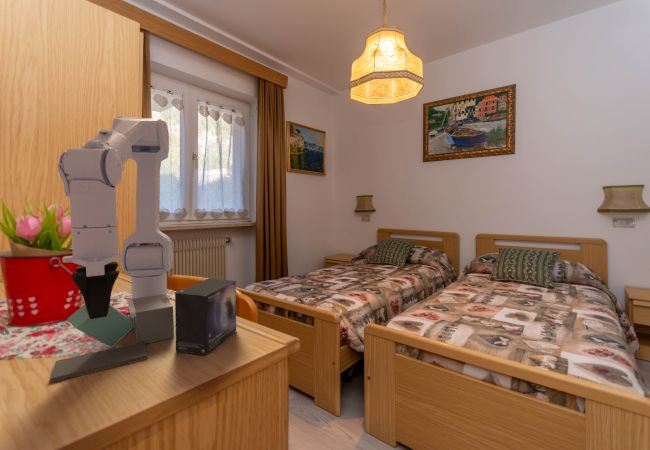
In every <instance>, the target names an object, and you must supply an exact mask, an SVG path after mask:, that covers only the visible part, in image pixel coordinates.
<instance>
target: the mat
mask: <svg viewBox="0 0 650 450" xmlns="http://www.w3.org/2000/svg"><path fill="white" fill-rule="evenodd" d="M146 359H148V353H147V349H146V344H144V341H143V342H139V343H137V342H135V343H130V344H125V345H120V346H117V347H111V348H109V349H108V348H107V349H103V350H99V351H94V352H90V353H86V354H85V353H84V354H80V355H76V356H72V357H68V358H62V359H58V360H55V362H54V365H53V369H52V372H51V376H50V379H49V380H50V382H49V383H55V382H56V383H57V382H58V381H59V382H60V381H62V380H67V379H71V378H74V377H79V376H84V375H88V374H90V373H94V372H99V371H103V370H107V369H112V368H116V367H118V366H122V365H127V364H130V363H134V362H138V361H143V360H146Z"/></svg>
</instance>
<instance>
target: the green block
mask: <svg viewBox="0 0 650 450" xmlns="http://www.w3.org/2000/svg"><path fill="white" fill-rule="evenodd" d="M66 320H67V321H68V323H69V324H70V325H72V326H73V327H74V328H75V329H76V330H78V331H80V332H82V333H83V334H85V335H88V336H89V337H91V338H94V339H95V340H97V341H99V342H101V343H103V344H104V345H106V346H107V347H110V348H114V346H115V345H116V344H117V343H118V342H119V341H120V340H122V339H123V338H124V337H125V335H127V334H128V333H129V332H130V331H131V330H132V329H134V328H133V327H134V326H135V325H136V324H135V323H133V320H131V319H130V318H129V317H128V316H127V315H125V314H124V313H122V311H119V310H118V309H117V308H116V307H114V306H113V305H111V304H110V305H109V311H108V314H107V316H106V317H101V318H95V319H90V317H89V315H88V312H87V309H86V305H85V304H83V305H82V306H81V307H79V309H77V310H76V311H74V313H72V314H71V315H70V316H69V317H68V318H67V319H66Z"/></svg>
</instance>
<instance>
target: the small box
mask: <svg viewBox="0 0 650 450" xmlns="http://www.w3.org/2000/svg"><path fill="white" fill-rule="evenodd" d="M236 291H237V280H230V279H220V278H210V277H209V278H207V279H204V280H202V281H199V282H197V283H195V284H192V285H190V286H187V287H184V288H183V289H180V290H177V291H175V292H174V302H175V303H174V307H175V308H174V312H175V314H174V315H175V316H174V317H175V352H177V353H178V352H179V353H185V354H187V353H188V354H192V355H194V354H195V355H203V356H207V355H209V354H210V353H212V351H214V350H215V349H216V348H217V347H219V346H220V345H221V344H222V343H223V342H225V341H226V340H227V339H229V338H230V336H232V335H233V334H234V333H236V332H237V296H236V295H237V292H236ZM235 331H236V332H235Z"/></svg>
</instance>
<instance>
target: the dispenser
mask: <svg viewBox="0 0 650 450" xmlns="http://www.w3.org/2000/svg"><path fill="white" fill-rule="evenodd" d="M126 300H127V307H128V312H129V316H130V318H131V317H133V318H132V322H133V323H135V324H136V325H135V326H134V327H133V328H132V329H133V333H135V343H139V342H143V341H144V344H145V345H146V344H150V343H154V342H159V341H163V340H169V339H171V338H174V337H175V328H174V327H175V324H174V305H173V303H172V302H171V301H170V299H169V297H168V295H167V296H166V294H161V295H154V296H148V297H141V298H134V299H132V297H131V298H127V299H126Z"/></svg>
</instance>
